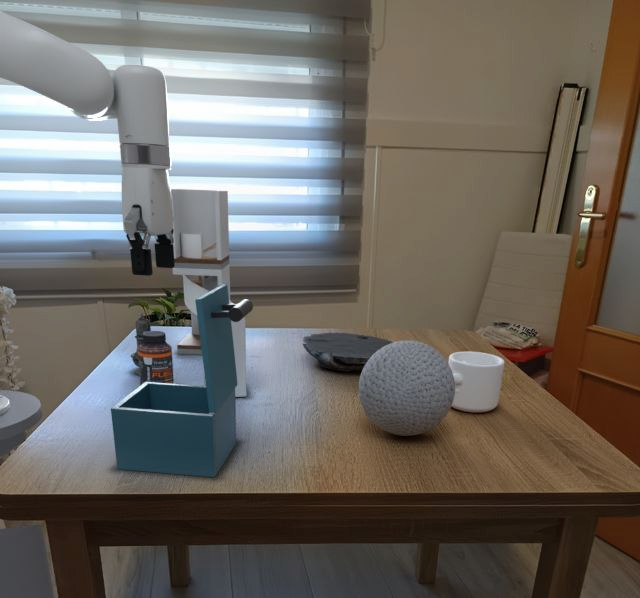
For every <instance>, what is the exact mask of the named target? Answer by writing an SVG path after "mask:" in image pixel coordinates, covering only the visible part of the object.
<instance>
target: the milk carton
mask: <svg viewBox="0 0 640 598" xmlns="http://www.w3.org/2000/svg"><path fill="white" fill-rule="evenodd" d="M229 304H234V303H233V302H232V301H231V299H230V300H229ZM231 325H232V335H233V345H234V354H235V364H236V374H237V383H238V385H237V386H236V388H235V398H240V397H241V398H242V397H243V398H244V397H247V345H246V341H247V340H246V339H247V338H246V316H245V317H244V318H243V319H241V320H240V321H238V322H233V321H231ZM203 375H204V376H203V377H204V380H205V374H204V373H203ZM204 386H206V382H205V381H204Z"/></svg>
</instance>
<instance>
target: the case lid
mask: <svg viewBox="0 0 640 598" xmlns="http://www.w3.org/2000/svg"><path fill="white" fill-rule="evenodd" d="M195 302H196V310H197V318H198V326H199V334H200V342H201V350H202V354H201V357H202V364H203V365H202V366H203V375H204V374H205V379H204V383H205V382H206V390H207V398H208V406H209V413H216V411H217V410H218V409H219V408H220V406H221V405H222V404H223V403H224V401H225V400H226V399H227V398H228V396H229V395H230V394H231V393H232V391H233V390H234V389H235V388H236V386H237V385H238V383H237V374H236V364H235V354H234V345H233V335H232V325H231V321H233V322H238V321H240V320H241V319H243V318H244V317H245V318H246V317H247V315H249V314H250V313H251V312H252V311H253V310H254V309H253V308H254V304H253V302H252V301H251V300H250V299H246V298H244V299H242V300H240V301H239V302H238V303H233V304H229V297H228V287H227V285H220V286H219V287H217V288H215V289H213V290H211V291H210V292H208V293H206V294H204V295H202V296H200V297H199V298H197V299H195Z"/></svg>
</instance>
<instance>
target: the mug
mask: <svg viewBox="0 0 640 598" xmlns="http://www.w3.org/2000/svg"><path fill="white" fill-rule="evenodd" d="M447 362H448V364H449V366H450V368H451V370H452V373H453V376H454V381H455V395H454V399H453V403H452V406H451V408H453V409H455V410H458V411H462V412H465V413H466V412H467V413H487V412H490V411H492V410H494V409H495V408H497V406H498V404H499V399H500V393H501V387H502V382H503V376H504V371H505V370H504V369H505V362H506V361H505V360H504V359H503V358H502V357H500V356H498V355H495V354H492V353H487V352H480V351H456V352H453V353H451V354H450V355H449V356H448V361H447Z"/></svg>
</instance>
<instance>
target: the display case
mask: <svg viewBox="0 0 640 598" xmlns="http://www.w3.org/2000/svg"><path fill="white" fill-rule="evenodd" d="M170 190H171V199H172V210H173V218H174V219H173V229H174V230H173V231H174V232H173V238H174V243H173V247H174V263H175V267H174V268H172V275H179V276H182V281H183V282H182V283H183V300H184V305H185V306H186V308H187V309H188V310H189V311H190V319H191V320H190V321H191V322H190V323H191V333H189V332H188V333H187V334H186V335H185V336H184V337H183V338H182V339H181V340H180V341H179V342H178V343H177V345H176V347H177V349H176V350H177V354H178V355H202V350H201V342H200V334H199V326H198V318H197V310H196V302H195V299H197V298H199V297H200V296H202V295H204V294H206V293H208V292H210V291H211V290H213V289H215V288H217V287H219V286H220V285H227V287H228V297H229V300H230V301H231V272H230V270H231V269H230V268H231V267H230V266H231V265H230V230H229V193H228V192H229V191H228V190H217V189H214V190H212V189H190V188H186V189H185V188H170Z"/></svg>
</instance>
